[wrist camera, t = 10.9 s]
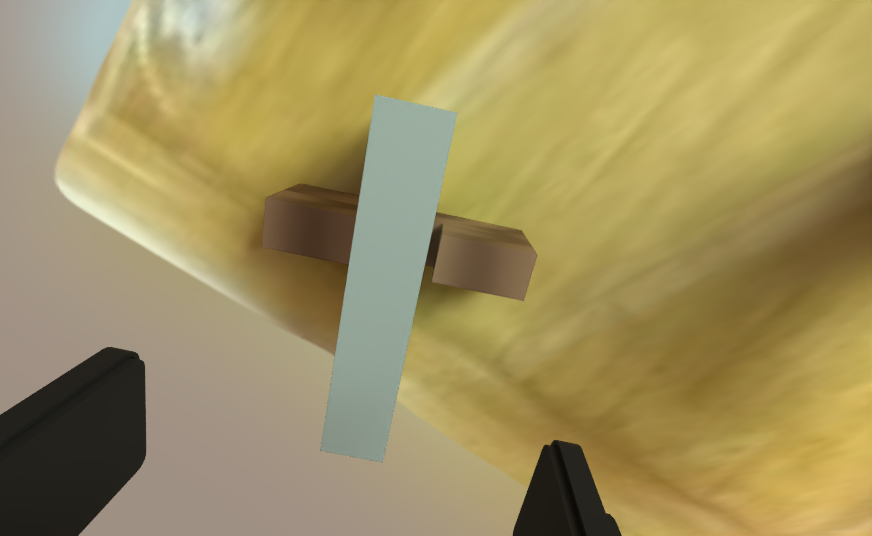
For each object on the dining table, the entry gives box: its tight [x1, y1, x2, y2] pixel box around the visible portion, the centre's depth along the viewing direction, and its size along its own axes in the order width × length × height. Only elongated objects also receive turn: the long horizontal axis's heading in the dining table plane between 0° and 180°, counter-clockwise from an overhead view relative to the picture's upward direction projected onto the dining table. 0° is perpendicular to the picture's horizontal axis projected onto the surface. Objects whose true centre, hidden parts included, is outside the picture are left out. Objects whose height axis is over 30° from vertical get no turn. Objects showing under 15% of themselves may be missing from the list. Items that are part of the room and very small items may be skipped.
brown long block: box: [262, 184, 537, 301], centre depth 29 cm, size 16×3×6 cm, turn 78°
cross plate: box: [320, 95, 457, 462], centre depth 25 cm, size 16×3×14 cm, turn 168°
